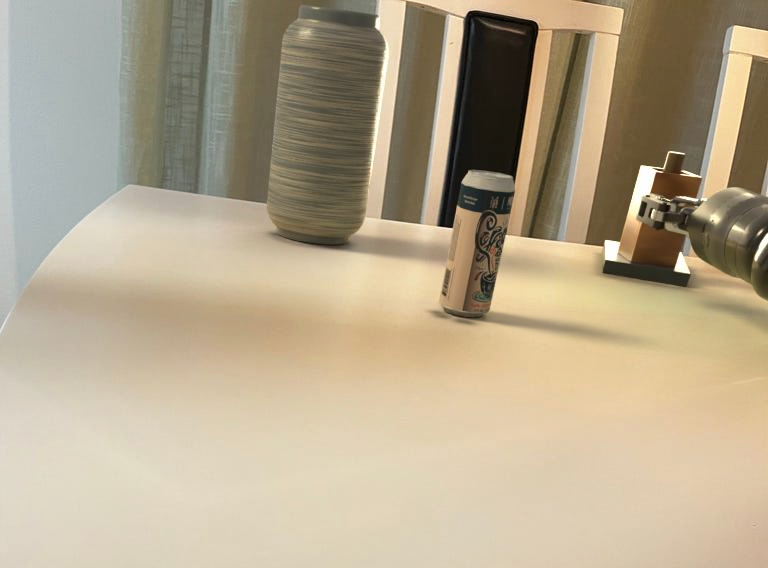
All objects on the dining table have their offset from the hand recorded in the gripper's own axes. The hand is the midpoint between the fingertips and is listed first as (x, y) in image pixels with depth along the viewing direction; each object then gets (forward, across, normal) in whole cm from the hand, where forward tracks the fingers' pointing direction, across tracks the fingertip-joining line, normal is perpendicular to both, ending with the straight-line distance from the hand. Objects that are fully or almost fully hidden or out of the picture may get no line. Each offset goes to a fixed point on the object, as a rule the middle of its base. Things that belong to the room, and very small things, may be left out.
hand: (686, 208), depth 114 cm
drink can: (-25, +28, +9) cm, 39 cm away
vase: (+5, +41, +9) cm, 43 cm away
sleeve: (+7, 0, +7) cm, 10 cm away
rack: (+10, -1, +9) cm, 14 cm away
